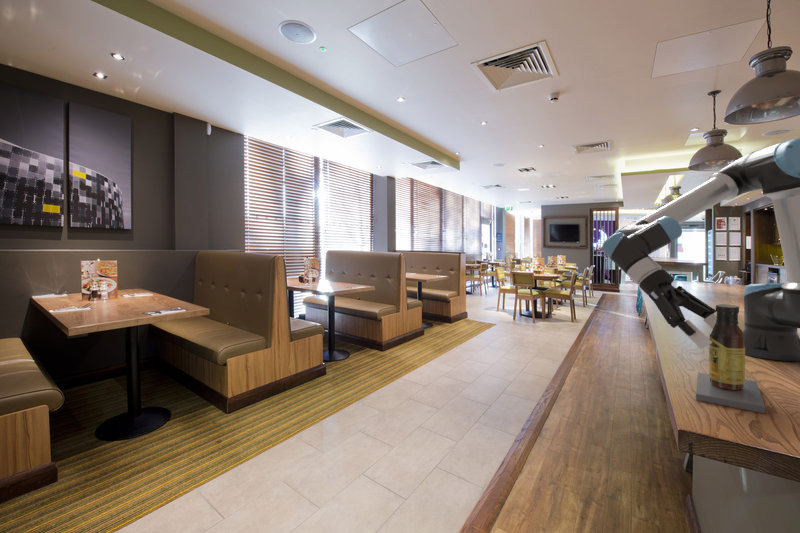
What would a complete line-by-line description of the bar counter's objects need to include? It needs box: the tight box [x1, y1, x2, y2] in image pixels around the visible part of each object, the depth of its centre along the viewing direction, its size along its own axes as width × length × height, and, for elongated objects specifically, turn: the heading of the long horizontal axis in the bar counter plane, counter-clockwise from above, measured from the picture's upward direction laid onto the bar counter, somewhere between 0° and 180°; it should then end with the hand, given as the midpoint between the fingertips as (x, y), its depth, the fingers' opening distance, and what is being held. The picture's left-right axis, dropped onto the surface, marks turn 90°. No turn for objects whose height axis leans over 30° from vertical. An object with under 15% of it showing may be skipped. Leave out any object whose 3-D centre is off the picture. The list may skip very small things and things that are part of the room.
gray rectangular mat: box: [695, 371, 766, 414], centre depth 83 cm, size 18×11×2 cm, turn 138°
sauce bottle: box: [708, 304, 746, 390], centre depth 83 cm, size 6×6×20 cm
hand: (719, 341), depth 84 cm, fingers open, 13 cm apart
